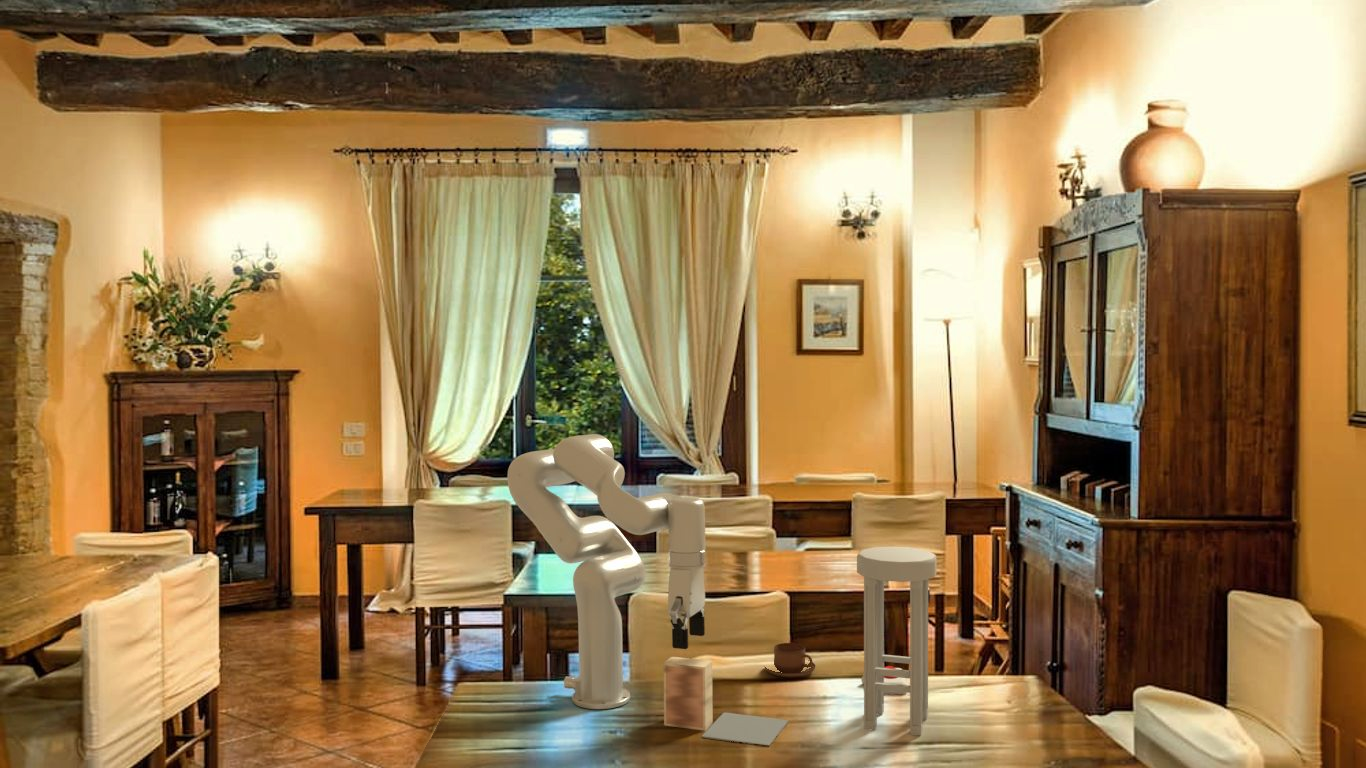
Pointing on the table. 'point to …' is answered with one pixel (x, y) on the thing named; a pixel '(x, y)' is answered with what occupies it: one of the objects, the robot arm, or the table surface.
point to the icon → (892, 681)
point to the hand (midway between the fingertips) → (688, 641)
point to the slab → (688, 693)
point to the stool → (876, 570)
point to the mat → (745, 729)
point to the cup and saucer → (791, 660)
